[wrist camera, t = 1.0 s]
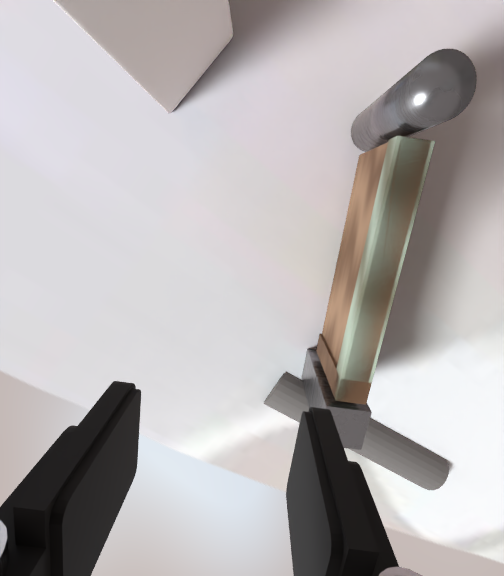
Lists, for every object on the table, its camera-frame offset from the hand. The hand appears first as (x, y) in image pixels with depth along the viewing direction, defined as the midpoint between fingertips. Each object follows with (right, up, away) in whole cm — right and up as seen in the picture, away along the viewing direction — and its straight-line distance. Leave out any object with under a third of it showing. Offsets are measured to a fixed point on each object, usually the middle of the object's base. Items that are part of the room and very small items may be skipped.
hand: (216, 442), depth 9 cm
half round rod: (+11, -9, +23) cm, 27 cm away
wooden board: (+9, +6, +17) cm, 20 cm away
